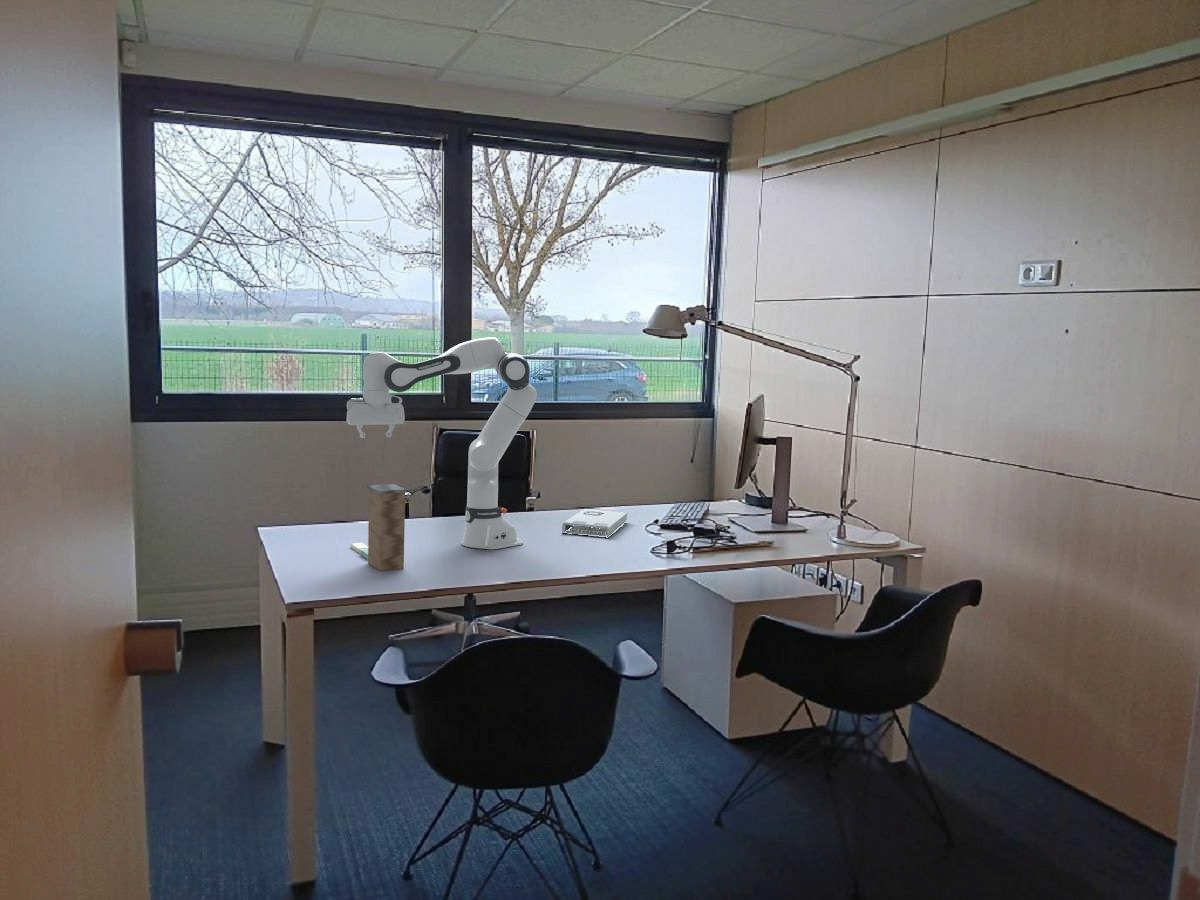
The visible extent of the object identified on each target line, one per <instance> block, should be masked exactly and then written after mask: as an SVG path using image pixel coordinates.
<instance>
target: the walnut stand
mask: <svg viewBox="0 0 1200 900" xmlns="http://www.w3.org/2000/svg"><path fill="white" fill-rule="evenodd" d="M367 490H368V523H367V525H368V528H367V529H368V535H367V537H368V538H367V540H368V541H367V544H368V545H367V546H368V560H367V564H368V565H370V566H371V567H373V568H374V569H376V570H378V571H379V572H385V571H392V570H400V569H402V570H403V569H404V567H405V526H406V525H405V524H406V523H405V519H406V516H405V514H406V512H405V511H406V509H405V507H406V493H407V491H408V490H407V489H406V488H405V487H401V486H400V485H397V484H395V483H392V484H391V483H390V484H389V483H388V484H372V485H367Z"/></svg>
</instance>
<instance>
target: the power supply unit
mask: <svg viewBox="0 0 1200 900" xmlns="http://www.w3.org/2000/svg"><path fill="white" fill-rule="evenodd" d="M626 520H627V521H628V512H624V511H623V512H622V511H613V510H612V511H611V510H604V509H602V510H600V509H589V508H584V509H582V510H581V511H578V513H576V514H574V515H573V516H571V517H569V518H568V519H566V520H565V521H564V522H562V524H561V534H562V533H563V532H565V531H566V530H568V529H569V528H570V527H572V528H571V529H570V531H566V532H567V533H572V534H587V535H599V536H606V535H607V537H608V536H609V535H611V534H612V533H613V532H614V531H615V530H616V529H617V528H618V527H619V526H621V525H622V524H623V523H624V522H625V521H626ZM600 524H602V525H600ZM606 524H608V525H606ZM573 525H574V526H573ZM603 525H605V526H603ZM591 527H593V528H591ZM599 528H600V529H599Z"/></svg>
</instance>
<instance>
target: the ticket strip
mask: <svg viewBox="0 0 1200 900" xmlns="http://www.w3.org/2000/svg"><path fill="white" fill-rule="evenodd" d="M350 548H351V549H352V550H354V551H355V552H357V553H359V554H360V556H361V557H362V558H364V559H366V560H367V561H368V545H367V544H366V543H364V542H362V541H361V542H353V543H350Z"/></svg>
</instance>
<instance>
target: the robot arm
mask: <svg viewBox="0 0 1200 900" xmlns="http://www.w3.org/2000/svg"><path fill="white" fill-rule="evenodd" d="M485 369H494V370H495V372H496V373H497V375H498V376H499V378H500V379H501V380H502V381H503V382H504V383H506V385H507V390H506V392H505V393H504V395H503V396H502V399H501V400H500V402H499V403H498V405H497V406H496V408H495V409H494V411H492V414H491V415H490V417H489V418H488V420H487V421H486V423H485V424H484V426H483V428H482V430H481V431H480V433H479V434H478V436H477V438H476V439H474V440H473V441H472V442H471V443H470V445H469V447H468V453H467V454H468V461H467V462H468V463H467V464H468V465H467V492H466V493H467V497H466V498H467V499H466V502H467V503H466V506H465V516H464V517H465V526H464V527H465V529H464V534H463V536H462V537H463V538H462V541H461V545H462V546H464V547H467V548H472V549H486V550H499V549H503V548H509V547H514V546H515V547H516V546H521V545H523V543H524V541H523V540H522V539H520V538H519V537H517V535H518V534H517V529H516V527H515V525H513V524H512V523H511V522H509V521H508V520H507V519H506V518H505V517H503V515H505V514H507V508H504V507H501V506H498V505H499V504H498V503H499V502H498V501H499V499H498V497H499V462H500V460H501V459H502V457H503V456H504V454H505V452H506V451H507V449H508V448H509V446H510V445H511V442H512V440H513V439H514V437H515V435H517V432H518V431H519V430H520V428H521V427H522V425H523V423H524V422H525V420H526V419H527V417H528V415H529V414H530V413H531V412H532V410H533V409H532V408H533V407H534V405H535V403H536V400H537V397H538V393H537V390H536V388H535V387H534V386H533V385H532V384H531V383H530V374H531V372H530V371H531V367H530V364H529V362H528V360H527V359H526V358H525V357H524V356H523V355H521V354H519V353H517V352H510V351H505V349H504V346H503V344H502V342H501V341H500V340H499V339H498V338H497V337H492V336H491V337H482V338H476V339H472V340H467V341H464V342H462V343H459V344H457V345H454V346H452V347H451V348H449V349H447V350H446V351H444V353H442V354H440V355H439V356H435V357H433V358H430V359H426V360H423V361H419V362H416V363H415V362H413V363H408V362H405V361H402V360H399V359H397V358H395V357H393V356H391V355H390V354H388V353H387V352H385V351H379V352H372V353H369V354H367V355H366V356H365V357H364V361H363V366H362V379H363V388H362V398H361V397H360V398H359V397H358V398H350V399H349V400H347V401H346V410H347V411H346V420H345V421H346V423H347V424H348V425H350V426H356V429H357V431H358V433H359V438H360V439H366V435H367V433H366V432H364V431H363V426H371V425H374V426H375V425H377V426H378V425H380V426H381V425H388V427H389V428H388V431H385V438H392V433H393V431H394V429H395V425H402V424H404V422H405V418H406V417H405V409H404V406H403V404H402V402H403V398H402V397H400V396H397V395H394V394H393V393H392V394H391V393H390V391H389V390H391V391H393V392H396V393H403V392H407V391H408V390H410V389H411V388H412V387H413V386H415V384H417V383H420V382H422V381H425V380H428V379H432V378H435V377H439V376H444V375H462V374H463V375H465V374H470V373H474V372H479V371H482V370H485ZM502 514H503V515H502Z"/></svg>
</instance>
